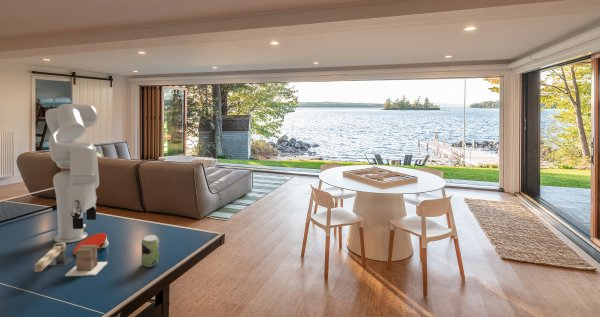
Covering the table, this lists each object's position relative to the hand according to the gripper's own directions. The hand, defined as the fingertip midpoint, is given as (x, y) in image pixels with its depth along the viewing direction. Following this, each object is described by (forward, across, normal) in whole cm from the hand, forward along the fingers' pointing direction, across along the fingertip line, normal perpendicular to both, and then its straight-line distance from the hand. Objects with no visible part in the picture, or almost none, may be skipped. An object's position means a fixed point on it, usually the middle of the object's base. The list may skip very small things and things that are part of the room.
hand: (85, 223), depth 121 cm
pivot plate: (+18, -6, -12) cm, 23 cm away
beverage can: (+18, -1, +23) cm, 29 cm away
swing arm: (+17, +2, -11) cm, 20 cm away
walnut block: (+17, +1, +1) cm, 17 cm away
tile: (+18, +1, +1) cm, 18 cm away
